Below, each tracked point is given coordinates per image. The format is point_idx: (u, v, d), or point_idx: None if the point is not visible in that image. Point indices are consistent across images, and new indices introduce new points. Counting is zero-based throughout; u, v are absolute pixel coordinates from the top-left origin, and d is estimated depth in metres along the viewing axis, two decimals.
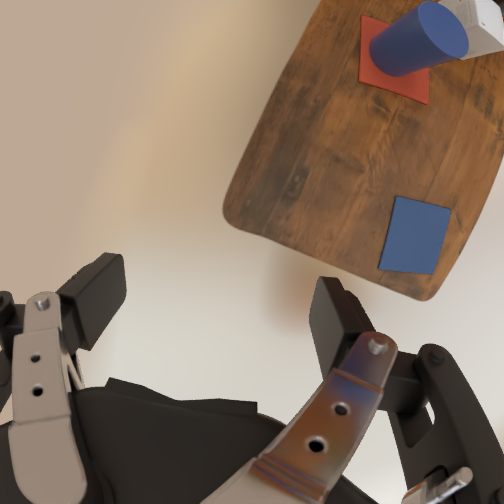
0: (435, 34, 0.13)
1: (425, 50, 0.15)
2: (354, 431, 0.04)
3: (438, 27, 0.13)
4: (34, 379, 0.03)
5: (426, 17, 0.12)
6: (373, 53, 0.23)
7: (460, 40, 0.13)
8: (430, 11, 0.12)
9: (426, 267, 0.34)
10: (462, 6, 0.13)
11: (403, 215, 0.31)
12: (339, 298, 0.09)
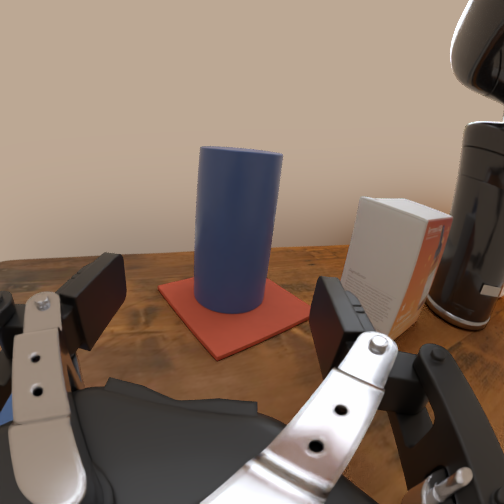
0: (215, 147, 0.19)
1: (198, 170, 0.19)
2: (354, 431, 0.04)
3: (231, 148, 0.19)
4: (34, 379, 0.03)
5: (226, 147, 0.21)
6: None
7: None
8: (241, 148, 0.21)
9: None
10: None
11: None
12: (339, 298, 0.09)
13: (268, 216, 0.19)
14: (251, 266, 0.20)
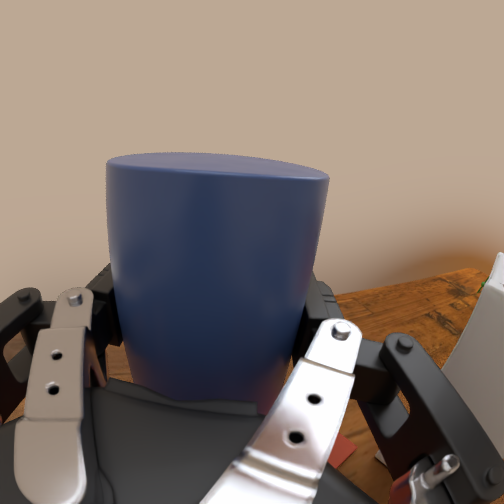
0: (151, 155, 0.07)
1: None
2: (331, 418, 0.04)
3: (192, 156, 0.08)
4: (52, 377, 0.04)
5: (186, 153, 0.09)
6: None
7: (242, 167, 0.06)
8: (221, 155, 0.09)
9: None
10: None
11: None
12: (309, 287, 0.09)
13: (287, 341, 0.07)
14: None
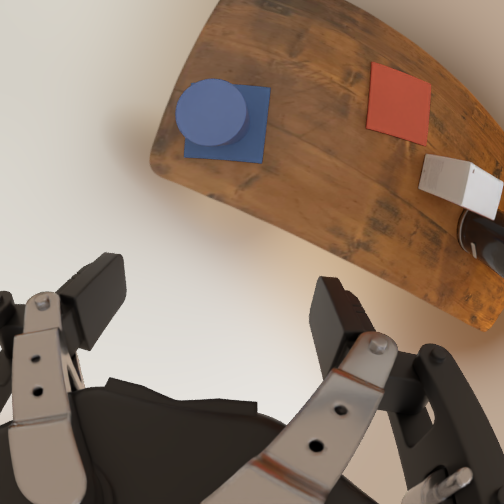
0: (188, 106, 0.20)
1: None
2: (354, 431, 0.04)
3: (202, 105, 0.20)
4: (34, 379, 0.03)
5: (200, 90, 0.20)
6: None
7: (213, 132, 0.21)
8: (215, 90, 0.20)
9: (192, 144, 0.33)
10: None
11: (250, 97, 0.30)
12: (339, 298, 0.09)
13: (235, 139, 0.25)
14: None
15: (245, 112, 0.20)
